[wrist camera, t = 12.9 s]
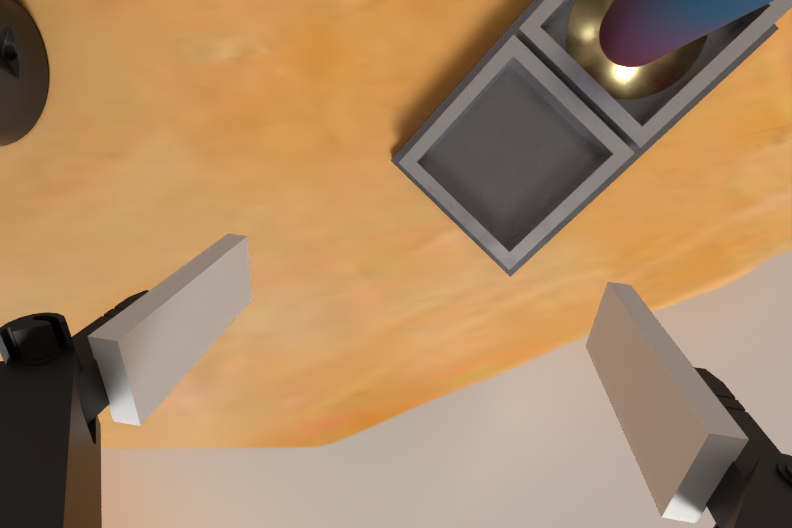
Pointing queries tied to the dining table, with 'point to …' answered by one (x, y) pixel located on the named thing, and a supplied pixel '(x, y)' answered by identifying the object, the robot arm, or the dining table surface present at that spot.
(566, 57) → the grey divided tray
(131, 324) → the robot arm
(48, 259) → the dining table surface
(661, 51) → the cup
